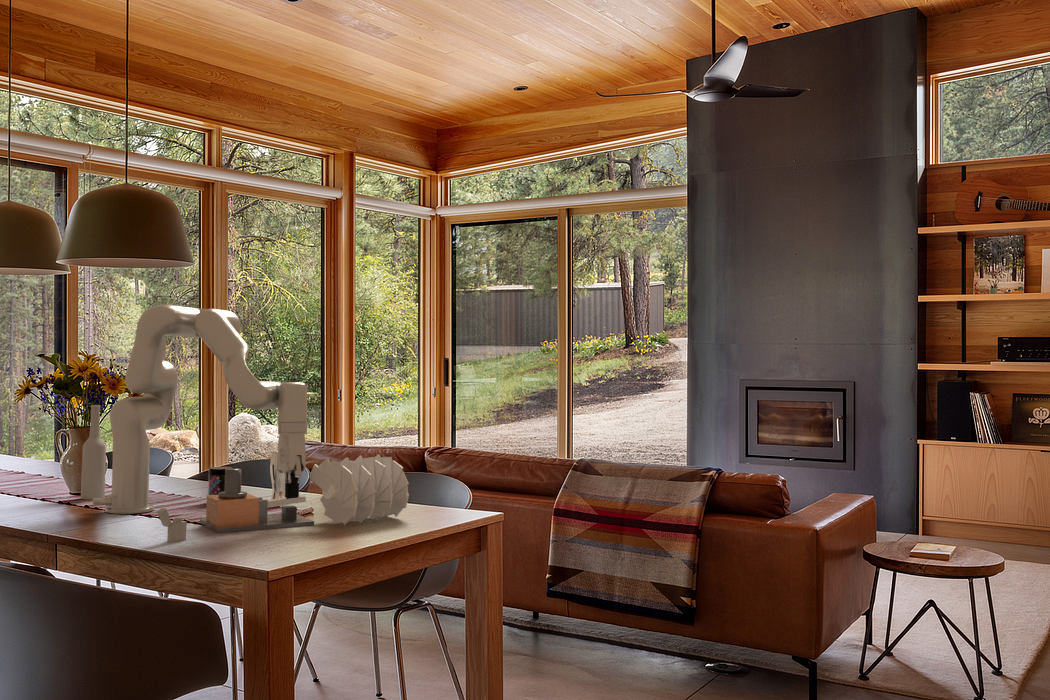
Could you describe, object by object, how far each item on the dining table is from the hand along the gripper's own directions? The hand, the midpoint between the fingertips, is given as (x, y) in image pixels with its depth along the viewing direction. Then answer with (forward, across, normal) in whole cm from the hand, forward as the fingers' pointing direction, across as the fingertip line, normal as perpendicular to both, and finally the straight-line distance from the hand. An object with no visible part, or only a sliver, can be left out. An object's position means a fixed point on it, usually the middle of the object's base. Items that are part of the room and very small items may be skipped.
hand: (291, 497), depth 246 cm
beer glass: (+6, -36, +10) cm, 38 cm away
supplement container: (+6, -42, -8) cm, 43 cm away
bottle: (+5, -67, -38) cm, 77 cm away
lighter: (+6, +13, -34) cm, 37 cm away
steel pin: (+5, -1, -16) cm, 16 cm away
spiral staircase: (+7, +6, +17) cm, 20 cm away
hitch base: (+6, 0, -10) cm, 12 cm away
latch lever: (+2, 0, -2) cm, 3 cm away
